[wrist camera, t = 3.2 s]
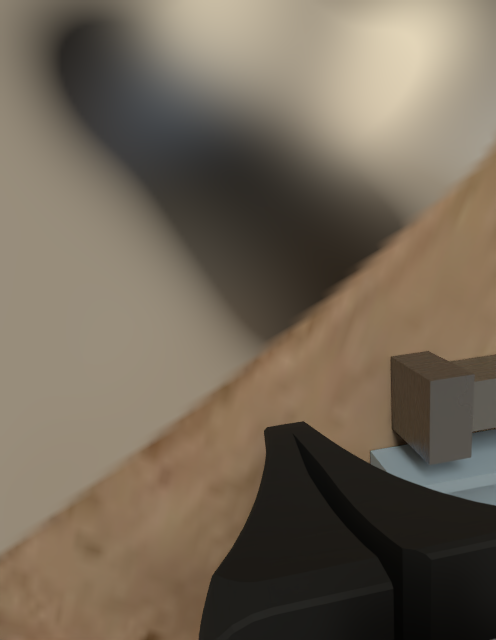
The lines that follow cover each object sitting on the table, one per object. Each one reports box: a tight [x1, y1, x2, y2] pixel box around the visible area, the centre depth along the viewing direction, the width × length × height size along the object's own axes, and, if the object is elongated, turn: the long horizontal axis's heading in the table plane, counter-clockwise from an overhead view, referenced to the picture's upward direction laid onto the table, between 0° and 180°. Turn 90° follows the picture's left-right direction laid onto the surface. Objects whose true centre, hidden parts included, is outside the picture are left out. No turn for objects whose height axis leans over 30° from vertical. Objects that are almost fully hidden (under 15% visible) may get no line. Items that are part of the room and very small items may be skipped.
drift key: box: [391, 351, 496, 465], centre depth 14 cm, size 3×7×3 cm, turn 96°
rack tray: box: [370, 429, 496, 505], centre depth 16 cm, size 8×8×2 cm
